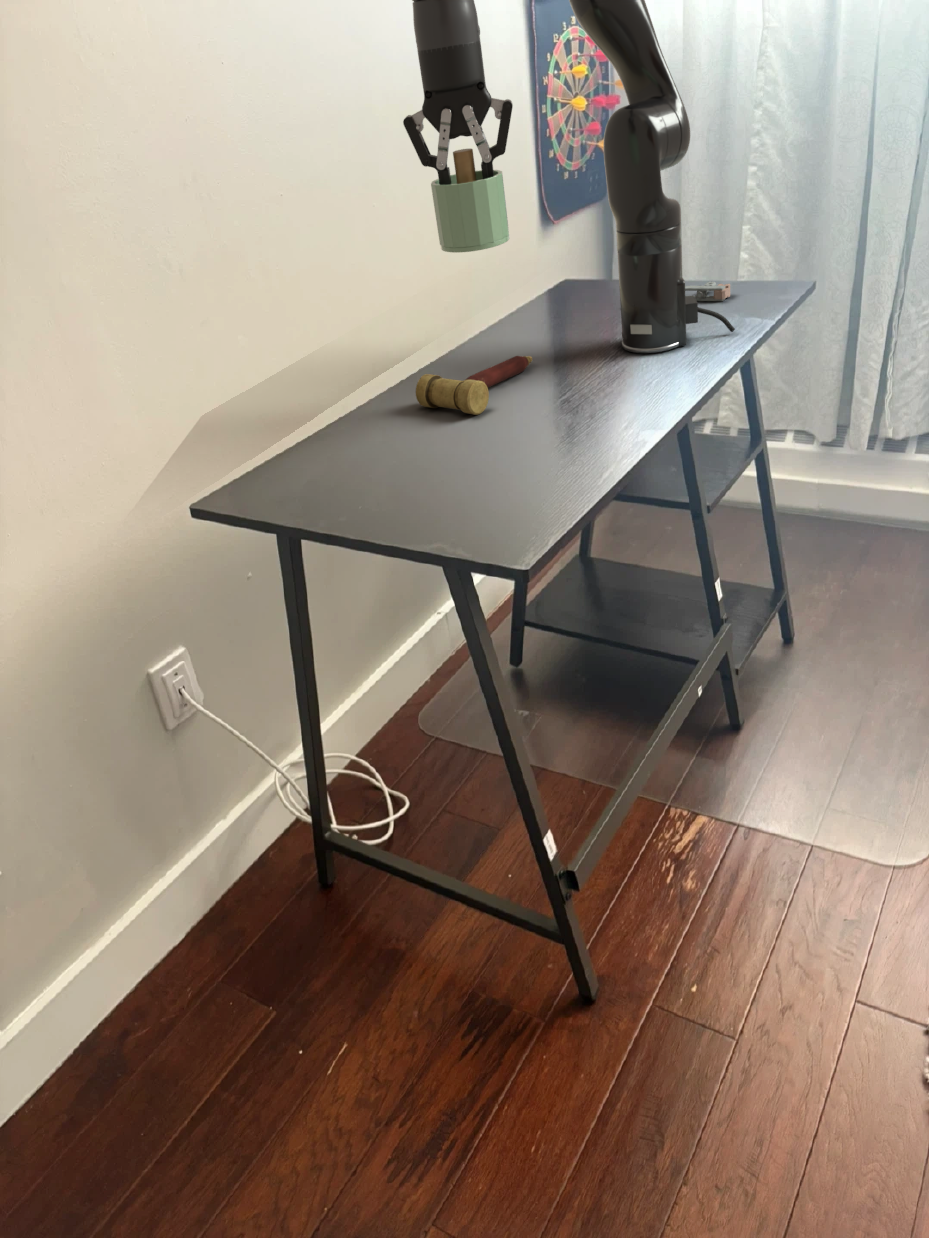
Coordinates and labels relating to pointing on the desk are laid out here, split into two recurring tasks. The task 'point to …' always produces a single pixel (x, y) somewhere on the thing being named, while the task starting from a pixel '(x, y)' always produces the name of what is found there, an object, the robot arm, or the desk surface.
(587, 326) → the desk surface
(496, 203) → the cup
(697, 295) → the clamp
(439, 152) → the robot arm
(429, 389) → the gavel
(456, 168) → the stick
